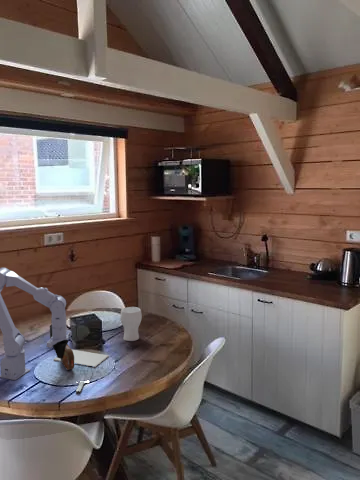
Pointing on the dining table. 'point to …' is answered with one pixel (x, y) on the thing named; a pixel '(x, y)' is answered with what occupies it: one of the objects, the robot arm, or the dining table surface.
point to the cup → (131, 322)
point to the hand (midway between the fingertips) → (60, 357)
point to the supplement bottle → (51, 329)
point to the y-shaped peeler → (81, 386)
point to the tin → (68, 358)
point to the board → (86, 358)
